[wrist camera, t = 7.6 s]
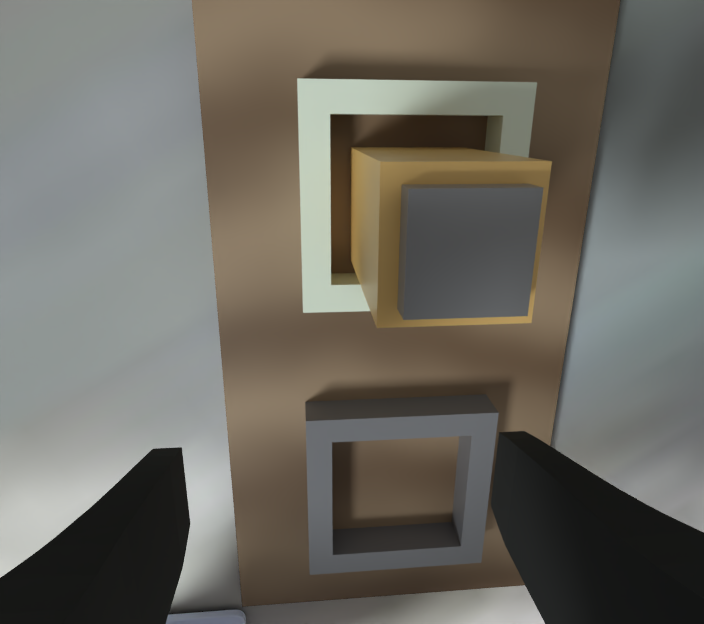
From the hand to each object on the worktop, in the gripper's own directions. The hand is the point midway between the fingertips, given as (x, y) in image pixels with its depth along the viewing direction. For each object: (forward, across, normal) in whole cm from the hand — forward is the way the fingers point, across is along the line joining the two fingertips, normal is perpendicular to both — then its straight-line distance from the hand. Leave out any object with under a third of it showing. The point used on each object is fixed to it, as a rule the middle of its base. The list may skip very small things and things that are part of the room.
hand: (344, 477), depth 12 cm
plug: (+9, -3, -5) cm, 11 cm away
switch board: (+10, -3, +1) cm, 11 cm away
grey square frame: (+10, -3, +7) cm, 13 cm away
